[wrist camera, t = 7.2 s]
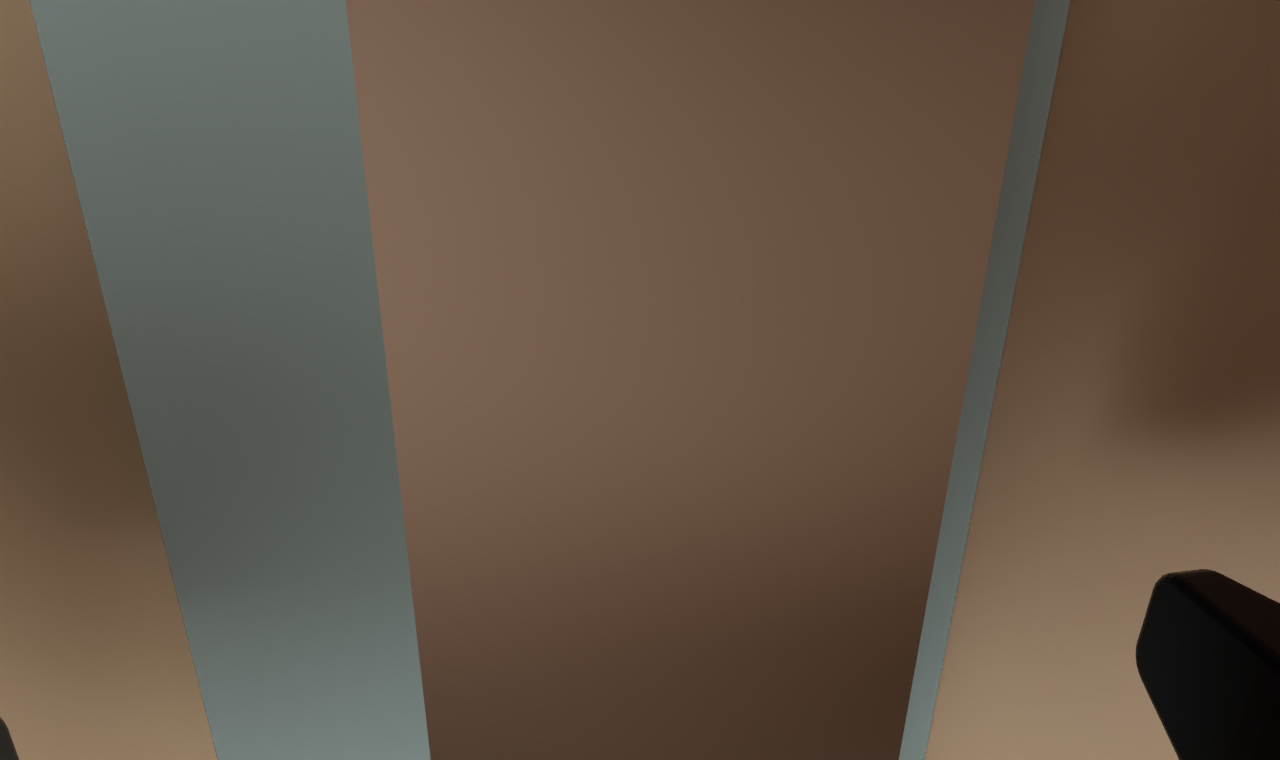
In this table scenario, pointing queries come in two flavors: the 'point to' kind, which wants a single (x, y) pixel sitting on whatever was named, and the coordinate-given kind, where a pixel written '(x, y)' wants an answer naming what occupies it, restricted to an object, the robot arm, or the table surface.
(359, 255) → the mat
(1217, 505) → the table surface
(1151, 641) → the robot arm
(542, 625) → the rail
